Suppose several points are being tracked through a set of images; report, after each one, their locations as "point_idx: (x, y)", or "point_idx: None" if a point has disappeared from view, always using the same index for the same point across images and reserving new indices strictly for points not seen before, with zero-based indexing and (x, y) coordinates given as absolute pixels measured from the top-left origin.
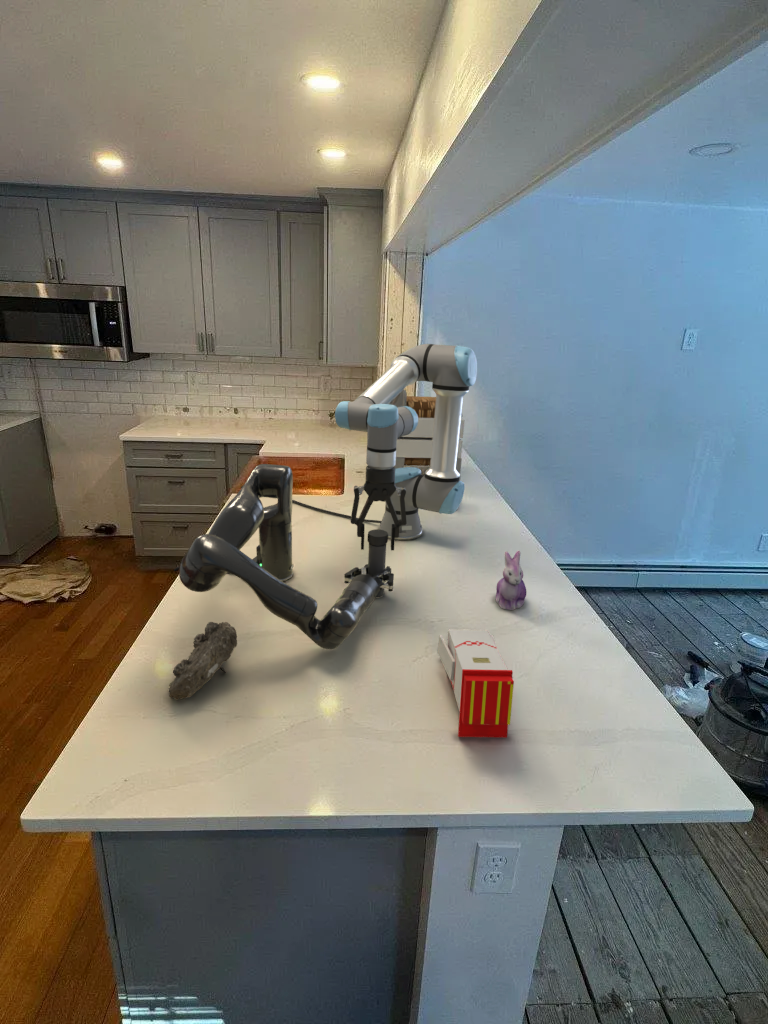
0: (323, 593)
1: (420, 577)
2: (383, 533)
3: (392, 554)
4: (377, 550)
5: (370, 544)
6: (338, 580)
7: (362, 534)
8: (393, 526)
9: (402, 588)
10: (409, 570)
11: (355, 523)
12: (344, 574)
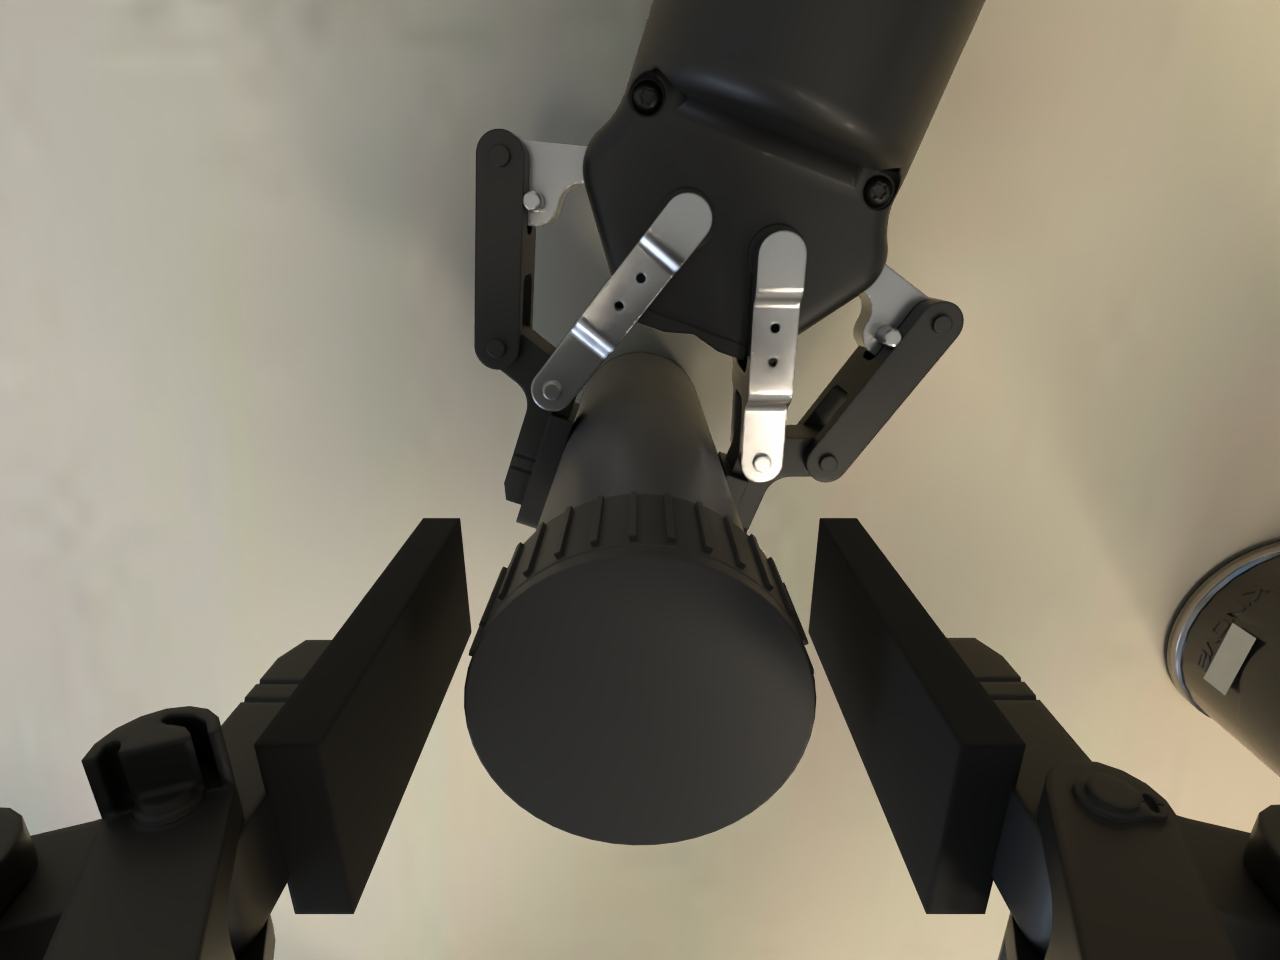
0: (997, 406)
1: None
2: (542, 702)
3: (521, 897)
4: (643, 477)
5: None
6: None
7: (929, 639)
8: (302, 804)
9: (453, 492)
10: None
11: (1205, 837)
12: (962, 321)
